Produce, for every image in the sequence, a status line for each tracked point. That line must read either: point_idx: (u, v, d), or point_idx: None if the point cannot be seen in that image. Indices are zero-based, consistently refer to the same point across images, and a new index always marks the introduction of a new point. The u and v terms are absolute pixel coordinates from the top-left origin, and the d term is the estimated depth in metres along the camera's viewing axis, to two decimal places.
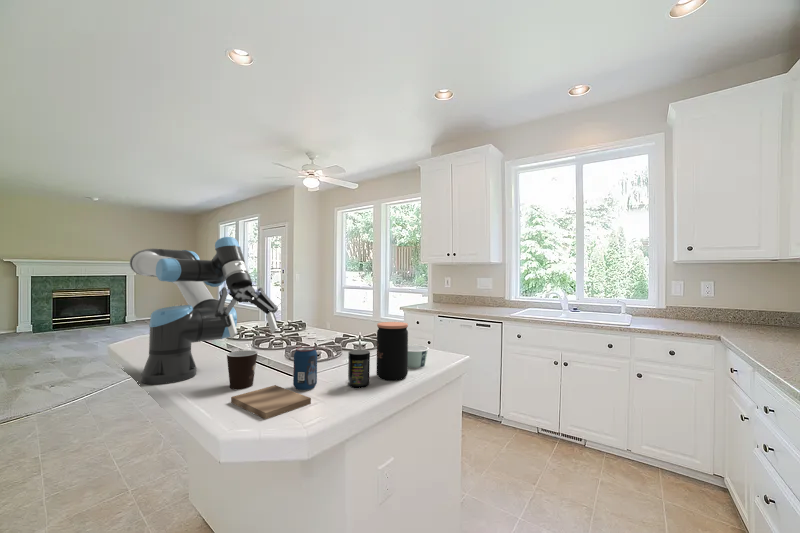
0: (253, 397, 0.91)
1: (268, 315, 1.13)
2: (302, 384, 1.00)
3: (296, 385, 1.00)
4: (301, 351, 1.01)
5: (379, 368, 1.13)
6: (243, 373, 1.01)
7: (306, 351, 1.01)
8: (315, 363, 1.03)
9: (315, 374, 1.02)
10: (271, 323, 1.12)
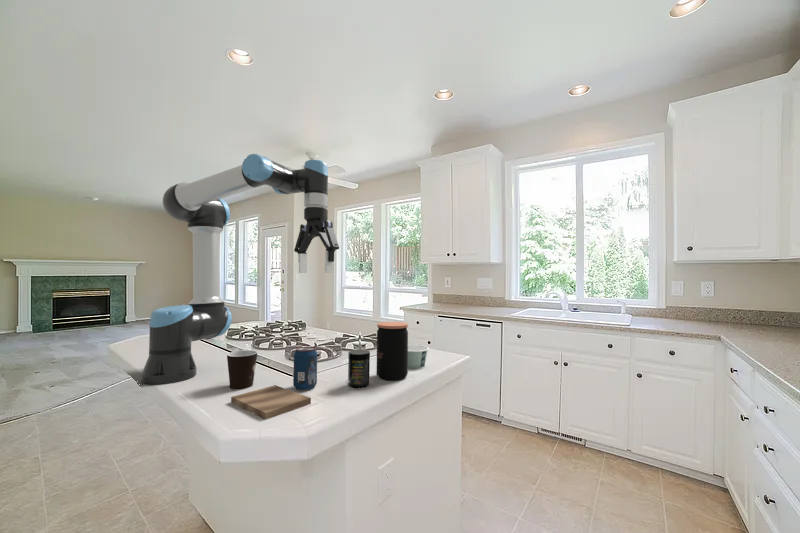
0: (253, 397, 0.91)
1: (303, 255, 1.15)
2: (302, 384, 1.00)
3: (296, 385, 1.00)
4: (301, 351, 1.01)
5: (379, 368, 1.13)
6: (243, 373, 1.01)
7: (306, 351, 1.01)
8: (315, 363, 1.03)
9: (315, 374, 1.02)
10: (304, 265, 1.15)
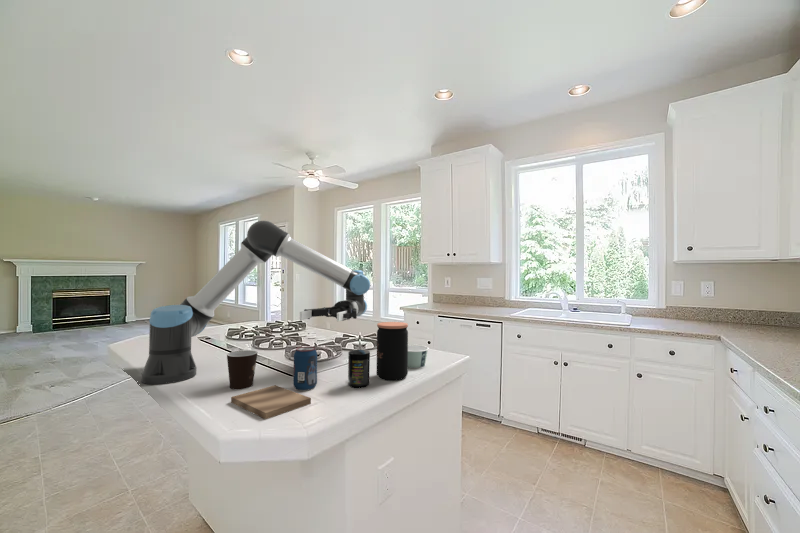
0: (253, 397, 0.91)
1: (310, 314, 1.20)
2: (302, 384, 1.00)
3: (296, 385, 1.00)
4: (301, 351, 1.01)
5: (379, 368, 1.13)
6: (243, 373, 1.01)
7: (306, 351, 1.01)
8: (315, 363, 1.03)
9: (315, 374, 1.02)
10: (305, 315, 1.16)
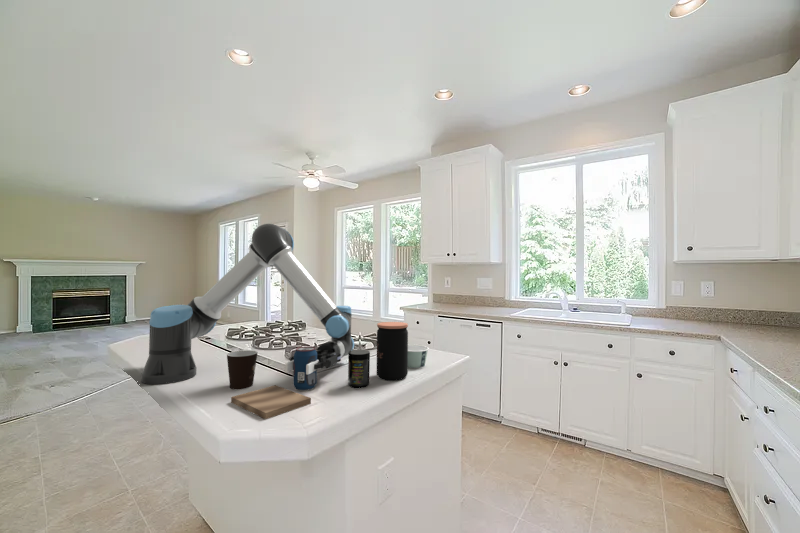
0: (253, 397, 0.91)
1: None
2: (302, 384, 1.00)
3: (296, 385, 1.00)
4: (301, 351, 1.01)
5: (378, 368, 1.13)
6: (243, 373, 1.01)
7: (306, 351, 1.01)
8: None
9: (315, 374, 1.02)
10: (292, 367, 1.02)
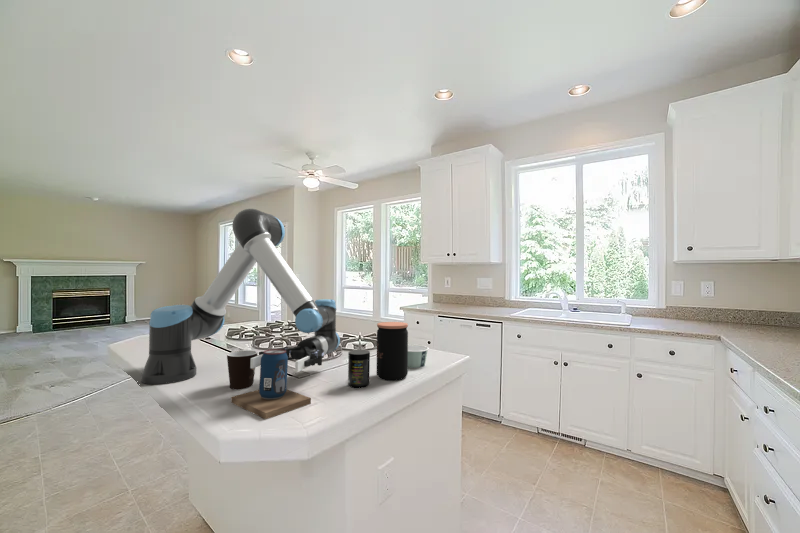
0: (253, 397, 0.91)
1: None
2: (269, 391, 0.88)
3: (262, 393, 0.88)
4: (269, 354, 0.89)
5: (378, 368, 1.13)
6: (243, 373, 1.01)
7: (274, 354, 0.89)
8: (285, 368, 0.91)
9: (284, 380, 0.91)
10: (258, 362, 0.95)
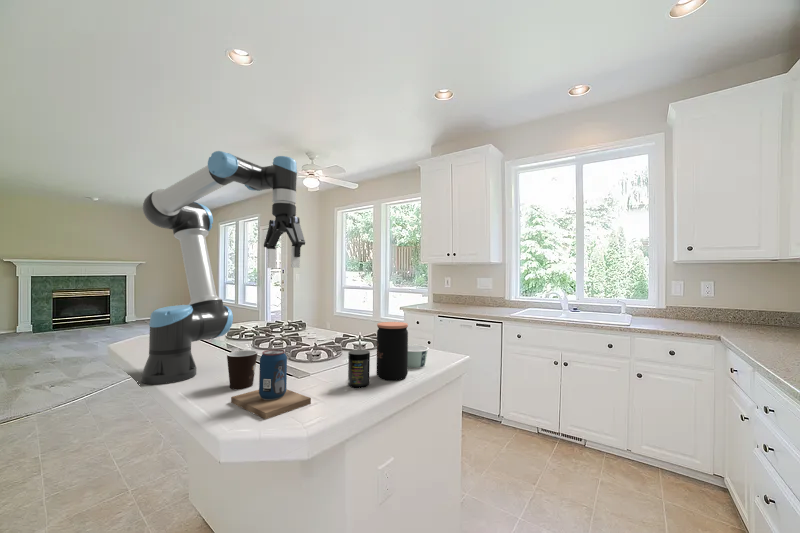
0: (253, 397, 0.91)
1: (272, 250, 1.17)
2: (268, 392, 0.88)
3: (261, 394, 0.88)
4: (267, 355, 0.89)
5: (379, 368, 1.13)
6: (243, 373, 1.01)
7: (273, 355, 0.89)
8: (284, 368, 0.91)
9: (284, 380, 0.90)
10: (273, 260, 1.17)
